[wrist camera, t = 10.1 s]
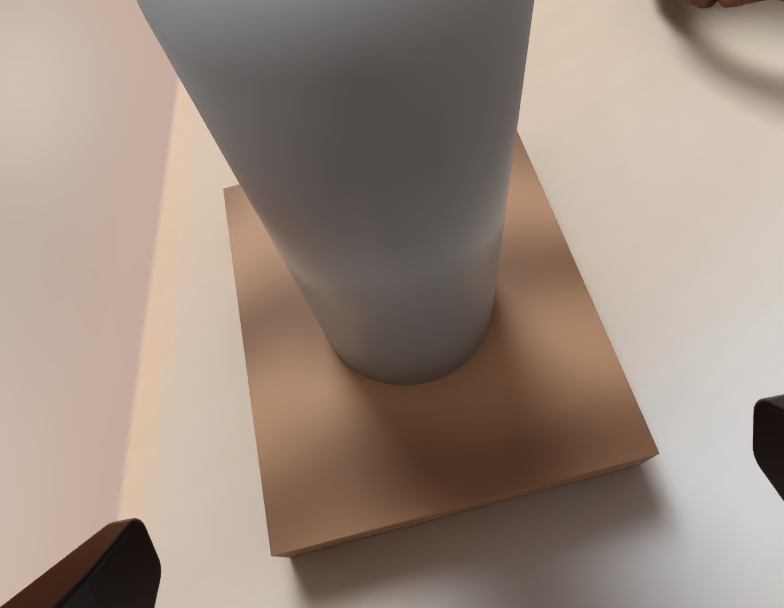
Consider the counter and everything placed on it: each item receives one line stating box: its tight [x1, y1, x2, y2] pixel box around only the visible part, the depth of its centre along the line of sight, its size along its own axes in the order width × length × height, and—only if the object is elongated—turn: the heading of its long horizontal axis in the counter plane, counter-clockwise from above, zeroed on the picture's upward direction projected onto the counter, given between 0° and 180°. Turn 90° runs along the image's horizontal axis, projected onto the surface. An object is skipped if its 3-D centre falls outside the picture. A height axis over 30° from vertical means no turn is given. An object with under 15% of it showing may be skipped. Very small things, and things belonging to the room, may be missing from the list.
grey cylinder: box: [137, 0, 534, 385], centre depth 14 cm, size 6×6×13 cm
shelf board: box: [223, 132, 659, 557], centre depth 21 cm, size 14×12×2 cm
